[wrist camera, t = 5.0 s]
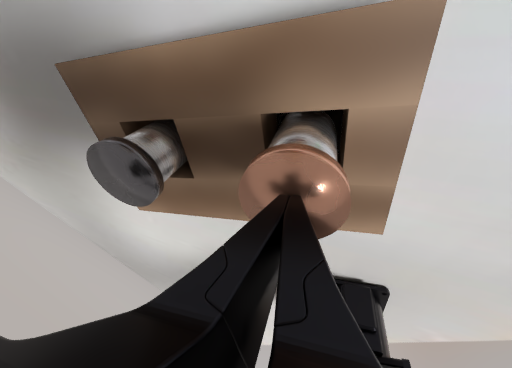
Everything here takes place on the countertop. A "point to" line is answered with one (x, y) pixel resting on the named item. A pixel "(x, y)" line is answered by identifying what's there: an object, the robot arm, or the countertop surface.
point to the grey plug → (138, 162)
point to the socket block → (271, 99)
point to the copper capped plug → (300, 172)
